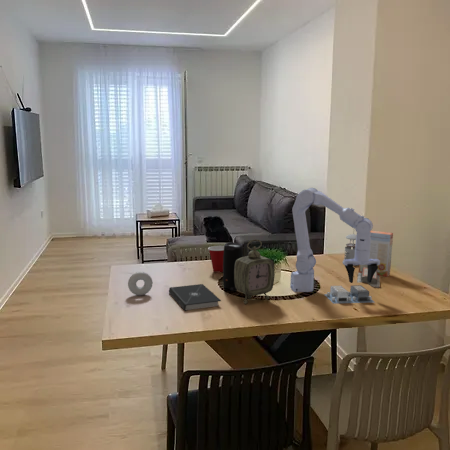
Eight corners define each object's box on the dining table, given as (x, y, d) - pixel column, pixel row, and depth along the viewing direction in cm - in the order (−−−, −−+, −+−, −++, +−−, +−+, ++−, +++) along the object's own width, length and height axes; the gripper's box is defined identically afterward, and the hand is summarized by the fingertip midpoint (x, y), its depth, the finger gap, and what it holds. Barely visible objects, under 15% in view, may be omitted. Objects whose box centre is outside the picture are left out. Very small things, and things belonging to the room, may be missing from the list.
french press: (342, 264, 246) (346, 217, 241) (341, 259, 257) (344, 213, 253) (362, 265, 244) (365, 218, 240) (359, 260, 256) (363, 214, 251)
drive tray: (333, 306, 185) (333, 299, 185) (323, 296, 196) (324, 290, 196) (374, 305, 188) (375, 298, 187) (363, 295, 198) (363, 289, 198)
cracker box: (390, 274, 230) (393, 232, 226) (387, 277, 225) (390, 234, 221) (361, 270, 237) (364, 229, 233) (357, 272, 232) (360, 230, 228)
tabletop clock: (243, 306, 184) (245, 243, 179) (231, 299, 191) (232, 238, 187) (273, 300, 191) (275, 239, 187) (260, 293, 199) (262, 235, 194)
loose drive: (357, 301, 188) (358, 291, 187) (350, 294, 196) (350, 285, 195) (368, 301, 188) (369, 291, 187) (360, 294, 196) (361, 285, 195)
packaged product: (358, 265, 228) (380, 267, 225) (357, 275, 229) (379, 277, 226) (357, 275, 211) (380, 278, 209) (356, 286, 212) (379, 288, 209)
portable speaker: (229, 292, 199) (229, 247, 196) (218, 286, 207) (219, 242, 204) (246, 290, 203) (247, 245, 199) (236, 283, 211) (236, 241, 208)
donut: (152, 292, 197) (151, 269, 196) (153, 295, 194) (153, 272, 192) (127, 294, 195) (127, 271, 193) (128, 297, 191) (127, 273, 190)
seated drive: (337, 302, 187) (337, 292, 186) (330, 295, 195) (330, 285, 194) (348, 301, 187) (348, 291, 187) (340, 294, 195) (341, 285, 194)
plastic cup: (216, 266, 239) (216, 243, 236) (234, 270, 232) (234, 246, 230) (203, 271, 230) (203, 247, 228) (221, 275, 224) (221, 250, 221)
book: (168, 294, 198) (168, 287, 197) (202, 290, 203) (202, 283, 203) (184, 312, 178) (184, 304, 177) (221, 307, 184) (221, 300, 183)
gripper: (348, 251, 184) (346, 285, 186) (384, 251, 185) (381, 284, 188) (342, 247, 190) (339, 280, 193) (376, 247, 192) (373, 279, 195)
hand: (360, 282), depth 191 cm, fingers open, 7 cm apart
